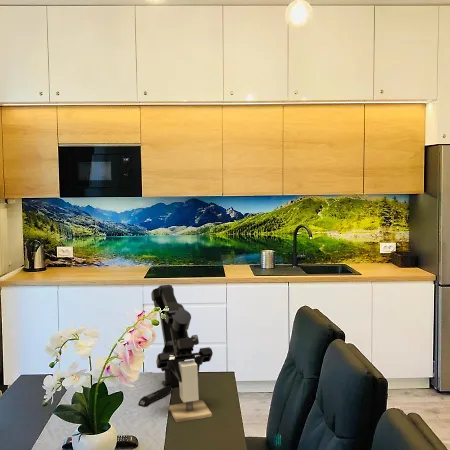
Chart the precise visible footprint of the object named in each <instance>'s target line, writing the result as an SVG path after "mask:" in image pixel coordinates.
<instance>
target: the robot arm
mask: <svg viewBox="0 0 450 450" xmlns="http://www.w3.org/2000/svg"><path fill="white" fill-rule="evenodd" d="M150 295H151V301H152V302H153V306H154V307H155V308H156V307H160V308H161V310H163V309H164V308H165V306H168V308H169V311H162V312H161V313H163V314H165V315H166V319H162V318H161V313H160V312H159V311H158V312H159V320H160V326H161V333H162V338H163V345H164V346H163V347H162V350H161V353H158V354H157V356H156V361H155V363H156V368H157V369H160V370H161V372H164V380H162V382H161V383H162V384H163V386H164V387H166V386H168V385H171V388H173V387H178V386H179V381H180V382H182V379H181V374H180V371H179V364H178V362H183V361H190V360H194V361H195V363H196V364H197V370H198V377H199V376H200V375H199V374H200V365H201V366H202V365H203V363H207V362H208V363H209V362H211V359H212V357H213V349H212V348H211V347H209V346H206V347H200V348H199V350H198V352H193V351H194V347H195V346H197V345H199V343H200V341H199V337H198V334H193V335H191V337H190V336H189V333H188V330H189V329H190V328H189V326H190V324H191V320H192V314H191V313H190V312H189V311H188V310H187V309H185V307H184V306H183V304H181V303H179V302H178V300H177V298H176V296H175V292H174V287H173V285H172V284H163V285H162V284H161V285H158V287H156V288H154V289H152V291H151V294H150Z"/></svg>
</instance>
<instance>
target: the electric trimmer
mask: <svg viewBox="0 0 450 450" xmlns="http://www.w3.org/2000/svg"><path fill="white" fill-rule="evenodd" d="M171 392H172V387H171V385H168V386H166V387H165V386H164V387H163V388H160V389H158V390H156V391H154V392H152V393H150V394H147V395H144V396H142V398H141V397H140V399H139V401H138V403H137V404H138V406H139V407H142V408H145V407H148V406H149V404H151V403H153V402H155V401H156V400H158V399H163V398H165V396H167V395H168V394H170V393H171Z"/></svg>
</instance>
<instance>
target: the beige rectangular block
mask: <svg viewBox="0 0 450 450" xmlns="http://www.w3.org/2000/svg"><path fill="white" fill-rule="evenodd" d="M178 364H179V371H180V374H181V379H182V382H180V381H179V387H178V388H179V398H180V399H181V401H182V403H186V402H190V401H193V402H194V401H200V399H199V398H200V397H199V376H198V370H197V364H196V363H195V361H194V359H189V360H185V361H183V362H178Z"/></svg>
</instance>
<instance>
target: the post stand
mask: <svg viewBox="0 0 450 450" xmlns="http://www.w3.org/2000/svg"><path fill="white" fill-rule="evenodd" d="M168 410H169V412H170V414H171V416H172V417H173V420H174V421H175V423H181V422H187V421H193V420H200V419H204V418H212V417H213V414H212V412H211V410H210V409H209V408H208V406H207V404H206V403H205V402H204V400H202V399H201V400H200V399H199V400H197V401H190V402H184V403H183V402H182V403H174V404H170V405H168Z"/></svg>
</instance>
